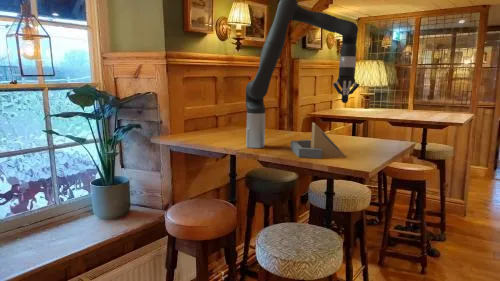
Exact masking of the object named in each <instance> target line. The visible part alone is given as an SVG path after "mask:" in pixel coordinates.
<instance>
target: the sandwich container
mask: <svg viewBox="0 0 500 281" xmlns="http://www.w3.org/2000/svg"><path fill="white" fill-rule="evenodd" d="M310 140H311V148H316V149H322V158H340V157H347V155H346V154H345V153H344V152H343V151H342V150H341V149H340V148H339V146H337V144H335V143H334V142H333V140H332V139H331V138H330V137H329V136H328V135H327V134H326V133H325V132H324V131H323V129H321V127H319V126H318V125H317V124H316V123H315V122H311V139H310Z"/></svg>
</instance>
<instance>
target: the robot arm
mask: <svg viewBox="0 0 500 281" xmlns="http://www.w3.org/2000/svg"><path fill="white" fill-rule="evenodd" d="M273 19H274V20H273V22H272V25H271V27H270V29H269V32H268V33H267V36H266V39H265V40H264V44H263V47H262V49H261V52H260V58H259V66H258V69H257V72H256V74H255V77H254V79H253V80H251V81H249V82H248V83H247V84H246V86H245V107H246V126H245V128H246V130H245V137H246V138H245V146H246V148H250V149H261V148H265V142H266V141H265V140H266V138H265V136H266V107H265V103H264V99H265V96H266V95H267V93H268V90H269V87H270V85H271V79H272V76H273V73H274V71H275V68H276V67H277V65H278V62H279V60H280V57H281V54H282V51H283V49H284V46H285V42H286V37H287V32H288V28H289V25H290V22H291V21H294V22H299V23H305V24H307V25H311V26H314V27H316V28H319V29H322V30H324V31H326V32H330V33H336V34H338V35H340V36H342V37H341V38H342V39H341V48H340V57H339V64H338V66H339V67H338V77H337V80H336V81H334V82H333V83H332V86H333V87H334V89H335V91H336V92H337V93H338V94H340V95H341V103H343V104H347V103H348V102H349V95H352V94H354V93H355V91H356V90H357V89H358V88H359V86H360V83H357V82H356V79H355V77H356V75H355V74H356V67H357V65H356V64H357V59H356V58H357V40H358V32H359V27H358V25H357V24H356V23H355V22H353V21H350V20H346V19H344V18H340V17H337V16H335V15H331V14H330V13H329V14H328V13H326V12H322V11H321V12H320V11H313V10H308V9H306V8H303V7H302V6H300V5H299V4H298V1H297V0H279V2H278V4H277V9H276V12H275V15H274V18H273ZM339 86H340V87H341V88H340V87H339Z"/></svg>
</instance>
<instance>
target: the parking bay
mask: <svg viewBox="0 0 500 281" xmlns="http://www.w3.org/2000/svg"><path fill="white" fill-rule="evenodd" d="M290 150H291V151H292V152H293V153H294V154H295V155H296V157H297V158H303V159H305V158H307V159H323V157H322V149H316V148H311V139H303V140H302V139H301V140H290Z"/></svg>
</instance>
